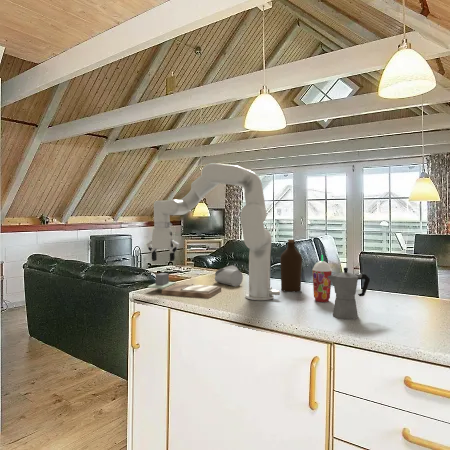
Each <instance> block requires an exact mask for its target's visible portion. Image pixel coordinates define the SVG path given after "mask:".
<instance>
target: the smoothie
mask: <svg viewBox="0 0 450 450" xmlns="http://www.w3.org/2000/svg"><path fill="white" fill-rule="evenodd" d="M320 256H321V257H320V258H321V260H320V261H317V262H316V263H315V264H314V265H313V267H312V269H311V270H312V286H313V289H312V290H313V298H314V300H315V301H316V302H318V303H328V302H329V300H330V299H331V288H332V282H331V280H330V279H329V278H328V276H330V275H333V273H332V272H333V269H332V267H331V265H330V264H329V263H328V262H327V261H325V260H324V255H323V254H321V255H320Z"/></svg>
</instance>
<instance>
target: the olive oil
mask: <svg viewBox="0 0 450 450" xmlns="http://www.w3.org/2000/svg"><path fill="white" fill-rule="evenodd" d="M295 241H296V240H295V239H287V248H286V249H284V251H283V252H282V253H281V254H280V259H279V261H280V262H279V263H280V281H281V282H280V283H281V284H280V285H281V287H280V288H281V289H280V290H281V291H282V292H286V293H299V292H301V289H302V286H301V285H302V271H303V270H302V268H303V258H302V257H303V256H302V254H301V253H300V252H299V251H298V250H297V248H296V245H295Z"/></svg>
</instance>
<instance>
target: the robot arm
mask: <svg viewBox="0 0 450 450" xmlns="http://www.w3.org/2000/svg"><path fill="white" fill-rule="evenodd" d="M221 184H222V185H223V184H225V185H232V186H236V187H241V188H243V189H244V201H245V205H244V206H243V207H242V209H241V211H240V224H241V228H242V229H241V231H242V236H243V237H242V239H243V242H244V244H245V246H246V248H248V249H249V253H248V254H249V255H248V256H249V257H248V293H245V298H246V299H248V300H252V301H270V300H272V299H274V296H281V295H280V294H281V293H280V292H281V291H280V290H276V289H273V288H272V286H271V251H272V236H271V233H270V231H269V230H268V229H267V228H265V224H264V222H265V221H266V219H267V210H266V208H267V207H266V202H265V196H264V191H263V184H262V180H261V179H260V176H259V175H258V174H257V173H256V172H254V171H252V170H250V169H248V168H244V167H242V166H239V165H236V164H235V165H234V164H223V163H222V164H221V163H207V164H206V165H204V167H202V169H201V175H200V176H198V177H197V178H196V179H195V180H194V181H192V182H191V184H190V187H191V188H190V190H189V192H188V193H187V194H186V195H185V196H184V197H182V198H180V199H176V198H175V199H173V198H172V199H168V200H155V201H154V203H153V221H154V223H153V225H154V228H153V230H152V235H151V240H150V241H149V242H147V243H146V247H147V249H148V251H149V252H150V253H151V260H152V261H153V262H156V261H158V260H157V259H158V258H157V257H158V256H157V252H156V251H157V250H168V251H169V252H170V253H169V262H174V261H175V259H176V258H175V253H176V251H177V250H178V249H179V246H180V243H179V242H178V241H175V239H174V232H173V229H172V228H171V227H172V226H173V223H171V221H170V220H171V219H170V216H182V215H183V216H184V215H186V214H187V213H188V212H190V211H192V210H193V209H194V208H195V207H197V206H198V204H199V203H200V202H201V201H202V200H203V198H204V197H206V195H207V194H209V193H210V192H211V191H213V190H214V189H215V188H216V187H218V186H219V185H221Z"/></svg>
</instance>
